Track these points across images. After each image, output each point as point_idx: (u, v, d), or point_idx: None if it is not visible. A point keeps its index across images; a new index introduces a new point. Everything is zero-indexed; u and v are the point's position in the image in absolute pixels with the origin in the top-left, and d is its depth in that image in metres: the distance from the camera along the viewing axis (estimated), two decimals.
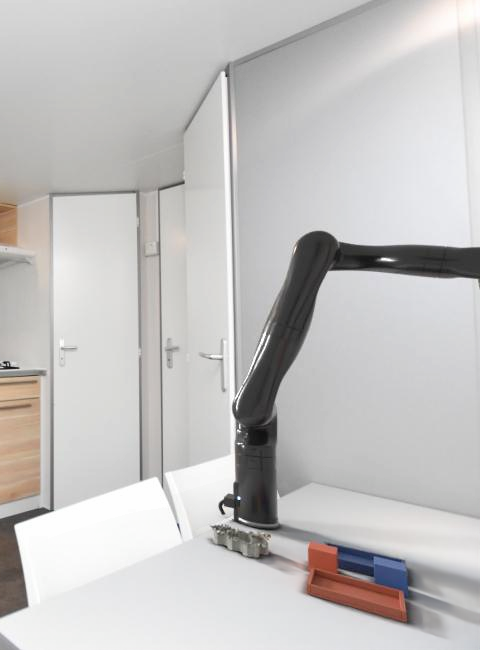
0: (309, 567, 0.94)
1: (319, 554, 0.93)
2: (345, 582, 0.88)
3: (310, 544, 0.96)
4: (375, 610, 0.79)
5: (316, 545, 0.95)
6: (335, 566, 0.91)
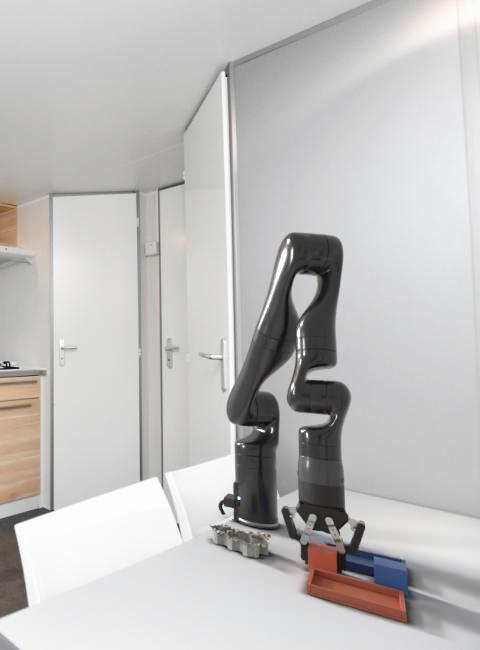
0: (309, 567, 0.94)
1: (319, 554, 0.93)
2: (345, 582, 0.88)
3: (310, 544, 0.96)
4: (375, 610, 0.79)
5: (316, 545, 0.95)
6: (335, 566, 0.91)
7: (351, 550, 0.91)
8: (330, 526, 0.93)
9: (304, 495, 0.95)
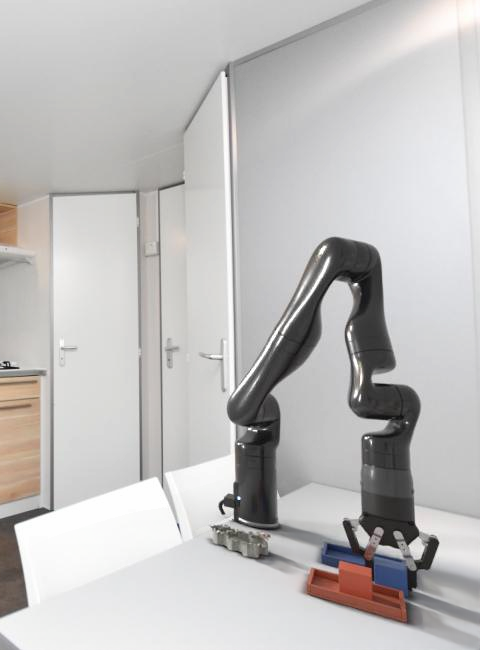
0: (340, 590, 0.84)
1: (352, 576, 0.83)
2: None
3: (340, 564, 0.86)
4: (375, 610, 0.79)
5: (347, 566, 0.85)
6: (370, 590, 0.81)
7: (423, 567, 0.84)
8: (399, 541, 0.86)
9: (369, 507, 0.88)
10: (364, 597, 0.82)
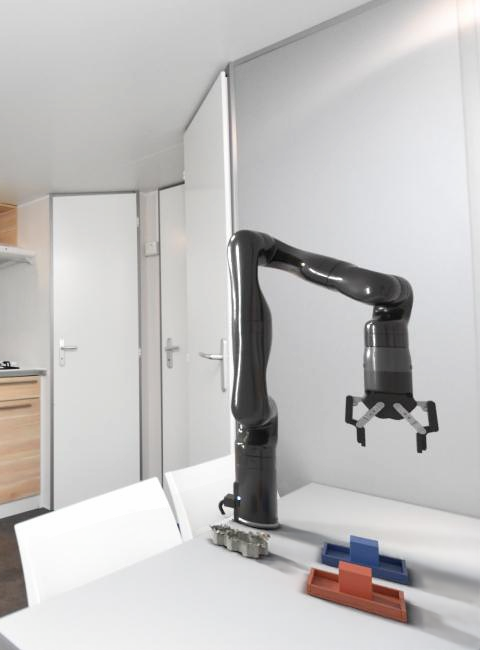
0: (340, 590, 0.84)
1: (352, 576, 0.83)
2: None
3: (340, 564, 0.86)
4: (375, 610, 0.79)
5: (347, 566, 0.85)
6: (370, 590, 0.81)
7: (432, 429, 0.92)
8: (398, 412, 0.95)
9: (371, 384, 0.97)
10: (364, 597, 0.82)
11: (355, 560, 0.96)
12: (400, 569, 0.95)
